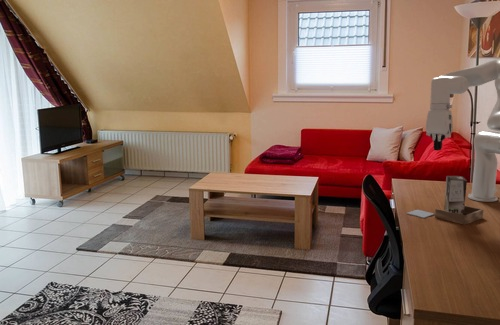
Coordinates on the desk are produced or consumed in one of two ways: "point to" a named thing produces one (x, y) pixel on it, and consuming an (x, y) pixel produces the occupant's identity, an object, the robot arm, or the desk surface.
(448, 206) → the coffee box
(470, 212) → the bay walnut
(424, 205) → the desk surface
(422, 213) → the mat grey
